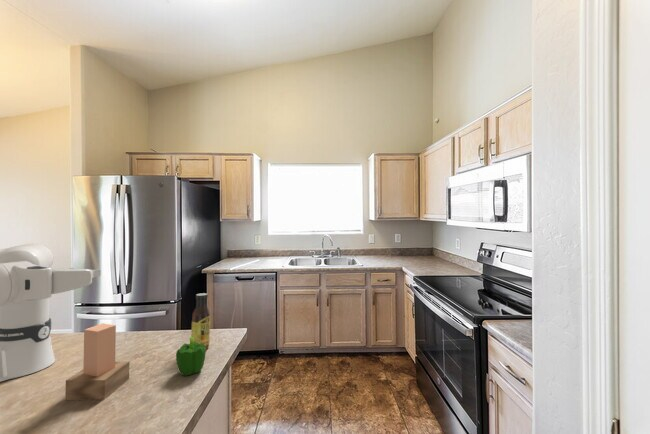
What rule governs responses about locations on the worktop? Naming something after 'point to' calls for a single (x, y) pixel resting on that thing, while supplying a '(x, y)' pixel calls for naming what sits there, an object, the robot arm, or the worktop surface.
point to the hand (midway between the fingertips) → (85, 271)
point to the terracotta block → (99, 349)
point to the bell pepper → (190, 357)
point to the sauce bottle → (201, 321)
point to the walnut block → (96, 383)
